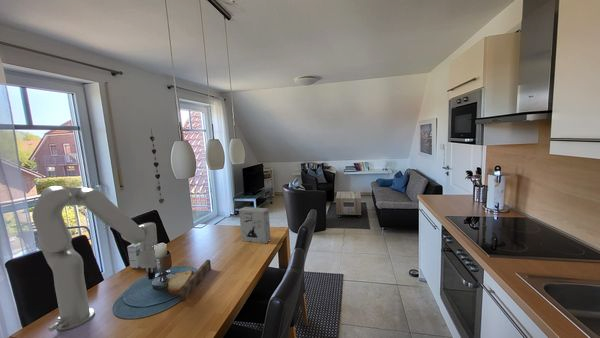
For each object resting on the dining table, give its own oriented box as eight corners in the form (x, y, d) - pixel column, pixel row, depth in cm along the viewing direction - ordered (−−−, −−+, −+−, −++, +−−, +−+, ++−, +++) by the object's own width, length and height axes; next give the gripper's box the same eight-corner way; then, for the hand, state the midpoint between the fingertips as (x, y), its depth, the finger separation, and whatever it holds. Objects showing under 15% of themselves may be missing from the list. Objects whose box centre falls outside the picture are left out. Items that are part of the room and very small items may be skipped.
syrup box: (137, 268, 155) (134, 246, 154) (129, 267, 156) (126, 246, 155) (145, 263, 161) (142, 242, 159) (137, 263, 162) (134, 242, 160)
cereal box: (241, 241, 190) (238, 209, 188) (247, 237, 197) (244, 206, 195) (265, 244, 182) (263, 211, 179) (270, 240, 189) (268, 208, 186)
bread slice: (175, 297, 124) (175, 290, 124) (157, 286, 134) (156, 280, 134) (206, 279, 139) (206, 273, 139) (187, 271, 149) (187, 265, 148)
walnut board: (184, 301, 120) (182, 289, 119) (180, 301, 120) (179, 289, 119) (211, 269, 149) (210, 259, 149) (207, 269, 150) (206, 259, 149)
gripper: (131, 248, 131) (133, 281, 132) (157, 248, 130) (160, 282, 131) (141, 243, 138) (143, 274, 140) (166, 243, 137) (169, 275, 138)
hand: (151, 278), depth 135 cm, fingers closed
